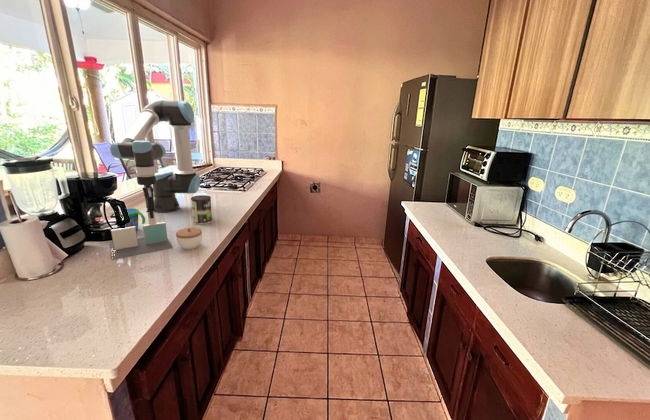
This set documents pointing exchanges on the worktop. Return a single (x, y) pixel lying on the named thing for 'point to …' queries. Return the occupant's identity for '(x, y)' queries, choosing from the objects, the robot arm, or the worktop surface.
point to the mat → (140, 249)
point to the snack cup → (133, 217)
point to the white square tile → (124, 237)
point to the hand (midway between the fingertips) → (152, 223)
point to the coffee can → (201, 209)
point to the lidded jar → (189, 238)
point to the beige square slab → (155, 233)
